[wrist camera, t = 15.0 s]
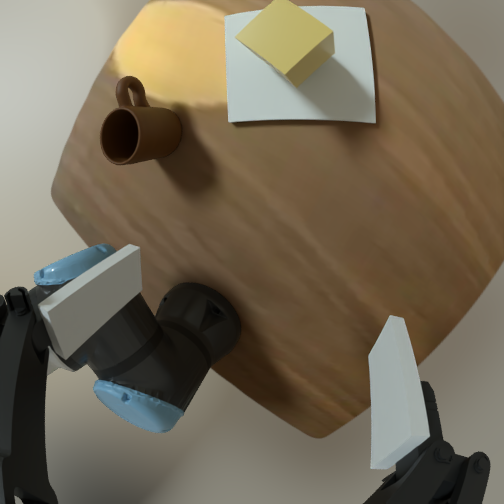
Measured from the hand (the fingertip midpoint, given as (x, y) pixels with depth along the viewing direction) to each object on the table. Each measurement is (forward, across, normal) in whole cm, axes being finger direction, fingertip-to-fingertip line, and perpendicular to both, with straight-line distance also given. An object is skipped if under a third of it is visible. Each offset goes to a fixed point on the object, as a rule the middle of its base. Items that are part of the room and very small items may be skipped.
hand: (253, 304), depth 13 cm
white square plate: (+23, -4, +18) cm, 30 cm away
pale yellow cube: (+20, -4, +18) cm, 27 cm away
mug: (+24, -22, +8) cm, 34 cm away
